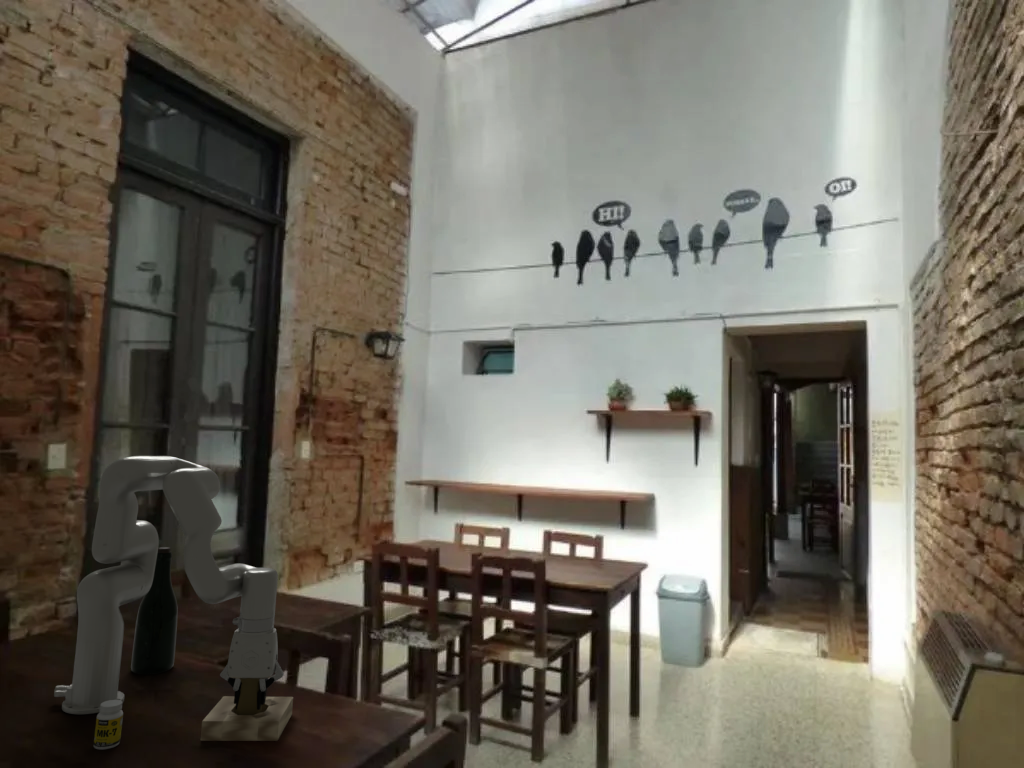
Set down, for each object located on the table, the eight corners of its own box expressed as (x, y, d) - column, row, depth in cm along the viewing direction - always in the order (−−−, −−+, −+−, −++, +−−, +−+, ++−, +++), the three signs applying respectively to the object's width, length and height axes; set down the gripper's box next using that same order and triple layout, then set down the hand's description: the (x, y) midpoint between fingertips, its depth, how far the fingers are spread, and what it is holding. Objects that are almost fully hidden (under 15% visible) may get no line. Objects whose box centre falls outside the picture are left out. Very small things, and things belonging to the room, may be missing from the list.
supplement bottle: (91, 751, 133) (95, 708, 134) (95, 741, 138) (99, 700, 139) (118, 748, 135) (122, 706, 136) (121, 738, 140) (125, 697, 140)
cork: (268, 714, 150) (272, 664, 151) (249, 724, 145) (254, 672, 146) (246, 709, 152) (251, 660, 153) (227, 719, 147) (232, 668, 148)
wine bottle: (162, 660, 188) (173, 543, 192) (180, 669, 182) (192, 548, 185) (123, 669, 180) (135, 546, 183) (141, 678, 174) (154, 551, 177)
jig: (200, 740, 140) (202, 721, 141) (222, 713, 154) (223, 696, 155) (277, 740, 142) (278, 721, 142) (291, 714, 156) (293, 696, 156)
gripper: (213, 627, 146) (205, 713, 144) (290, 629, 148) (283, 714, 146) (224, 618, 153) (216, 700, 151) (297, 620, 155) (290, 701, 153)
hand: (249, 706), depth 149 cm, fingers closed on cork, 3 cm apart
